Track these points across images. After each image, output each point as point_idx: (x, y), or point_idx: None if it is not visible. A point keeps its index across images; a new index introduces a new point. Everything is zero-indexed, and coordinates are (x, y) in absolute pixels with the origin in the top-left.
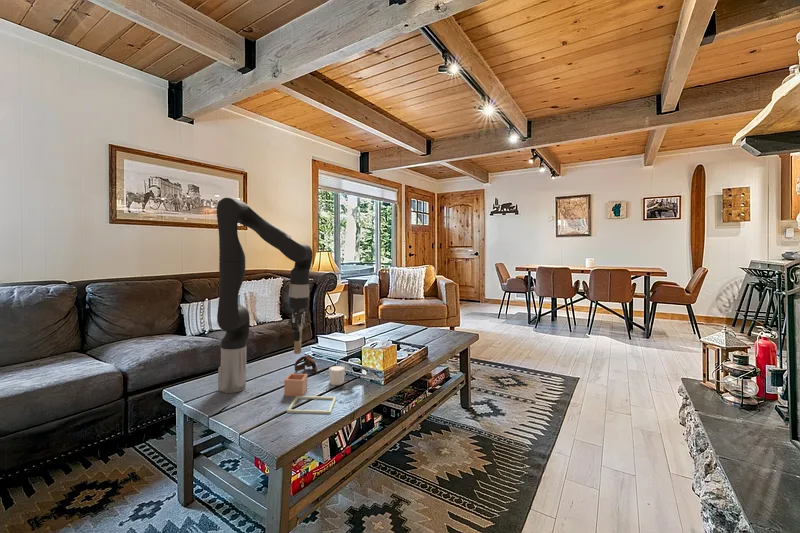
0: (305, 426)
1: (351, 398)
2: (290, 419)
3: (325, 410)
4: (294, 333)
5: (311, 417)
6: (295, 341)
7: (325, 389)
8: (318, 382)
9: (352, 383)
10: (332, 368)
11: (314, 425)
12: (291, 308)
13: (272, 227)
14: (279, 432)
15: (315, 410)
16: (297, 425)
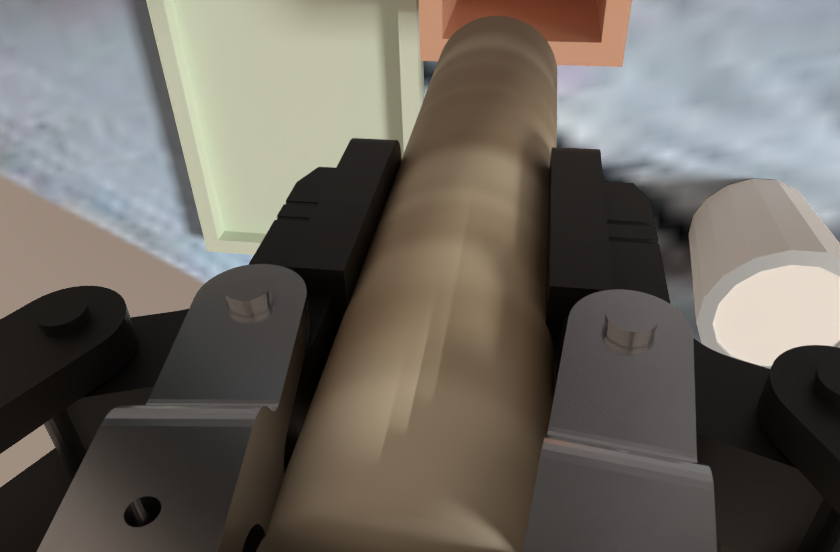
0: (58, 121)
1: None
2: (99, 3)
3: (213, 223)
4: (250, 264)
5: (168, 135)
6: (406, 149)
7: (639, 157)
8: (828, 70)
9: None
10: (788, 280)
11: (88, 168)
12: None
13: None
14: None
15: (195, 166)
16: (49, 71)
